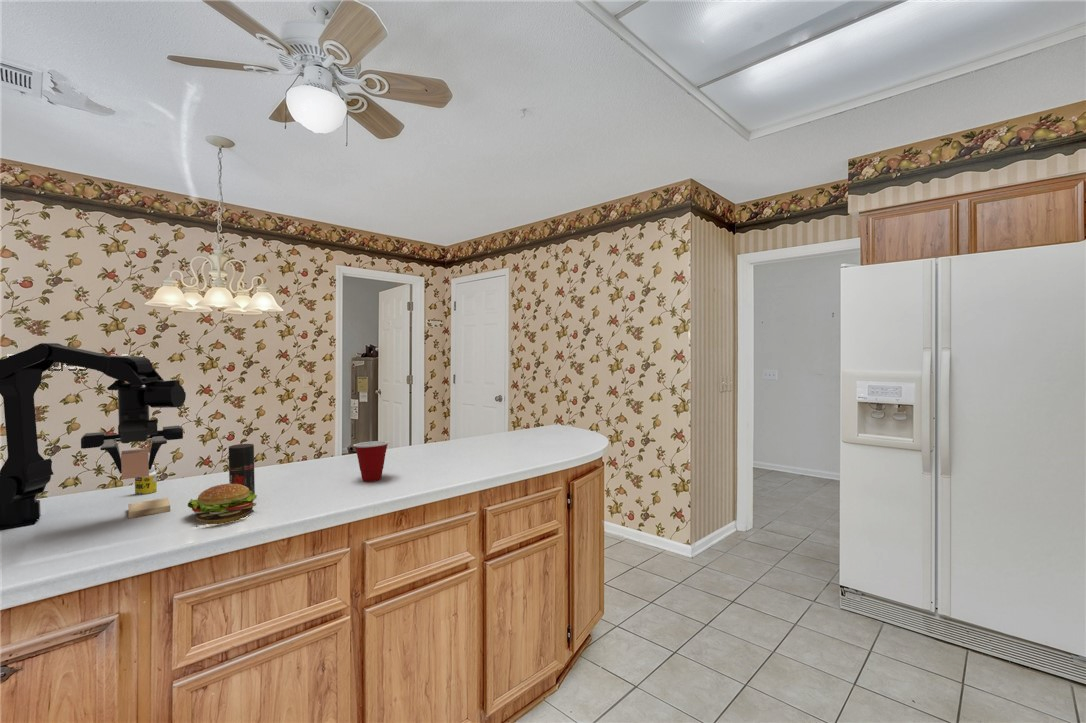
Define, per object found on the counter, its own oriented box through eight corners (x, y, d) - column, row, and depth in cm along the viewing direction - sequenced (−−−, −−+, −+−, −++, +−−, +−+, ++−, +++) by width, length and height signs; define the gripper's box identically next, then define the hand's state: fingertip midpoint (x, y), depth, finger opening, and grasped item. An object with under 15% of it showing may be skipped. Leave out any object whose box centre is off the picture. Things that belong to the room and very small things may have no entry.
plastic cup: (383, 472, 161) (383, 437, 160) (393, 480, 152) (393, 443, 152) (349, 477, 155) (349, 441, 154) (358, 486, 146) (357, 447, 145)
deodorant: (259, 496, 135) (258, 444, 135) (241, 503, 130) (240, 448, 129) (243, 495, 137) (242, 443, 136) (224, 501, 131) (223, 447, 131)
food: (243, 503, 130) (243, 474, 130) (264, 515, 121) (263, 484, 121) (182, 517, 119) (181, 486, 119) (200, 531, 110) (199, 497, 110)
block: (121, 479, 114) (121, 454, 113) (122, 475, 118) (121, 451, 117) (148, 475, 117) (148, 451, 117) (148, 471, 121) (148, 448, 120)
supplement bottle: (131, 498, 133) (130, 468, 133) (140, 493, 138) (139, 464, 138) (151, 497, 135) (151, 467, 134) (160, 492, 139) (159, 463, 139)
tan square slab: (128, 518, 116) (128, 512, 116) (128, 509, 122) (128, 504, 122) (170, 511, 121) (170, 505, 121) (168, 503, 127) (168, 497, 127)
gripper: (77, 415, 105) (79, 485, 105) (183, 408, 116) (185, 471, 117) (82, 410, 113) (84, 475, 114) (180, 403, 125) (182, 462, 126)
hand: (135, 471), depth 117 cm, fingers closed on block, 5 cm apart
